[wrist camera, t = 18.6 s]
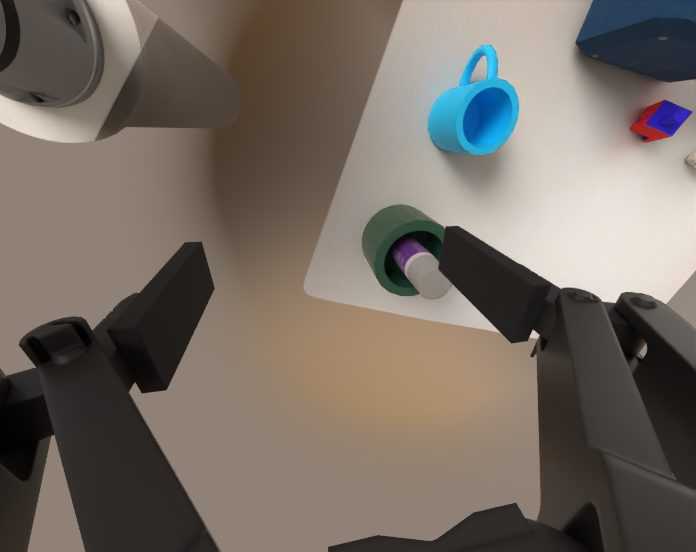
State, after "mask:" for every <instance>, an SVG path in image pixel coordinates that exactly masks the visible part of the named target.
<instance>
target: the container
mask: <svg viewBox="0 0 696 552" xmlns="http://www.w3.org/2000/svg"><path fill="white" fill-rule="evenodd" d="M388 252H389V254H390V255H391V256H392V258H393V259H394V261H395V262H396V263H397V265H398V266H399V267H400V269H401V270H402V272H403V273H404V274H405V276H406V277H407V278H408V279H409V281H410V282H411V283H412V284H413V286H414V287H415V288H416V289H417V291H418V292H419V293H420V294H421V295H422V296H423V297H424V298H426V299H436V298H439V297H441V296H443V295H444V294H445V293H447V291H448V290H449V289H450V287H451V284H452V283H451V282H450V281H449V280H448V279H447V278H446V277H445V276H444V275H443V274H442V273H441V272H440V271H439V270H438V266H439V261H438V260H437V259H436V258H435V257H434V256H433V255H432V254H431V253H430V252H429V251H428V250H426V249H425V248H424V247H423V246H422V245H421V244H420V243H419V242H418V241H417V240H416V239H415V238H414V237H412V236H411V235H410V234H409V233H406V234H405V235H403V236H401V237H399V238H398V239H397V240H396V241H395V242H394V243H393V244H392V245H391V246H390V248H389V250H388Z"/></svg>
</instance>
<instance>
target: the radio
mask: <svg viewBox="0 0 696 552" xmlns="http://www.w3.org/2000/svg"><path fill="white" fill-rule="evenodd" d="M576 44H577V46H578V47H579V49H580V50H581V51H582V52H583V53H584V54H585V55H586V56H589V57H592V58H595V59H598V60H601V61H605V62H608V63H611V64H614V65H617V66H620V67H623V68H626V69H629V70H632V71H635V72H638V73H641V74H645V75H648V76H651V77H654V78H657V79H660V80H663V81H666V82H676V81H684V80H691V79H696V0H593V3H592V5H591V7H590V10H589V12H588V14H587V17H586V19H585V21H584V24H583V26H582V28H581V31H580V33H579V35H578V38H577V40H576Z"/></svg>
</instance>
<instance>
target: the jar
mask: <svg viewBox="0 0 696 552" xmlns="http://www.w3.org/2000/svg"><path fill="white" fill-rule="evenodd" d="M406 233H409V234H410V235H411V236H412V237H414V238H415V239H416V240H417V241H418V242H419V243H420V244H421V245H422V246H423V247H424V248H425V249H426V250H428V251H429V252H430V253H431V254H432V255H433V256H434V257H435V258H436V259H437V260H438V261H440V255H441V250H442V244H443V239H444V233H445V228H444V227H443V226H441V225H440V224H438V223H437V222H435V221H434V220H432V219H431V218H429V217H428V216H426V215H425V214H423V213H422V212H420V211H419V210H417V209H415V208H413V207H411V206H407V205H394V206H390V207H387V208H385V209H383V210H381V211H379V212H378V213H377V214H375V215H374V216H373V217H372V218H371V220H370V221H369V222H368V224H367V226H366V228H365V230H364V233H363V237H362V248H363V252H364V255H365V257H366V259H367V261H368V263H369V265H370V266H371V268H372V270H373V272H374V274H375V276H376V278H377V279H378V281H379V283H380V284H381V286H382V287H384V288H385V289H386V290H388V291H389V292H391V293H394V294H397V295H400V296H414V295H417V294H420V293H419V292H418V291H417V289H416V288H415V287H414V286H413V284H412V283H411V282H410V281H409V279H408V278H407V277H406V276H405V274H404V273H403V272H402V270H401V269H400V267H399V266H398V265H397V263H396V262H395V261H394V259H393V258H392V256H391V255H390V254H389V252H388V250H389V248H390V246H391V245H392V244H393V243H394V242H395V241H396V240H397V239H398V238H399V237H401V236H403V235H405V234H406Z"/></svg>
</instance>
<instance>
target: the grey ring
mask: <svg viewBox="0 0 696 552" xmlns="http://www.w3.org/2000/svg"><path fill="white" fill-rule="evenodd" d="M686 162H687V163H688V164H690V165H691V166H693V167H694V169H696V152H693V153H691V154H690V155H689V156H688V158H687V159H686Z"/></svg>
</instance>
